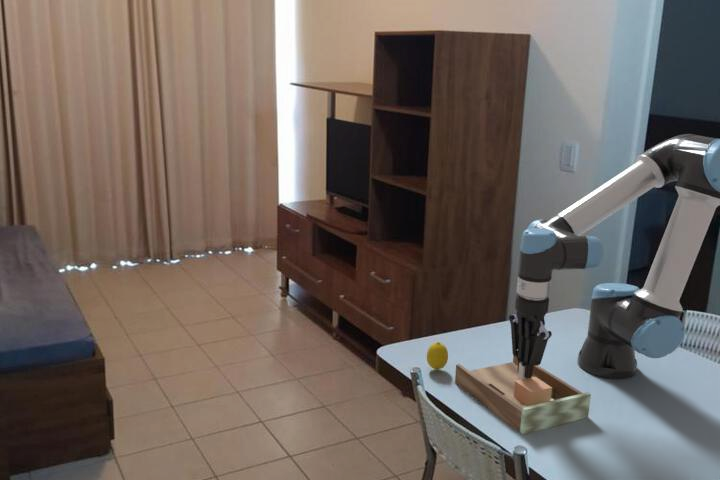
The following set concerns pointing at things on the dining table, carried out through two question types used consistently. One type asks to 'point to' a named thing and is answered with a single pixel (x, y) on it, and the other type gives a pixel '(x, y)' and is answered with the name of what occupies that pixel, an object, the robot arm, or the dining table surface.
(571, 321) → the dining table surface
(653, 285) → the robot arm
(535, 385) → the block
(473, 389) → the box
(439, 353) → the lemon
